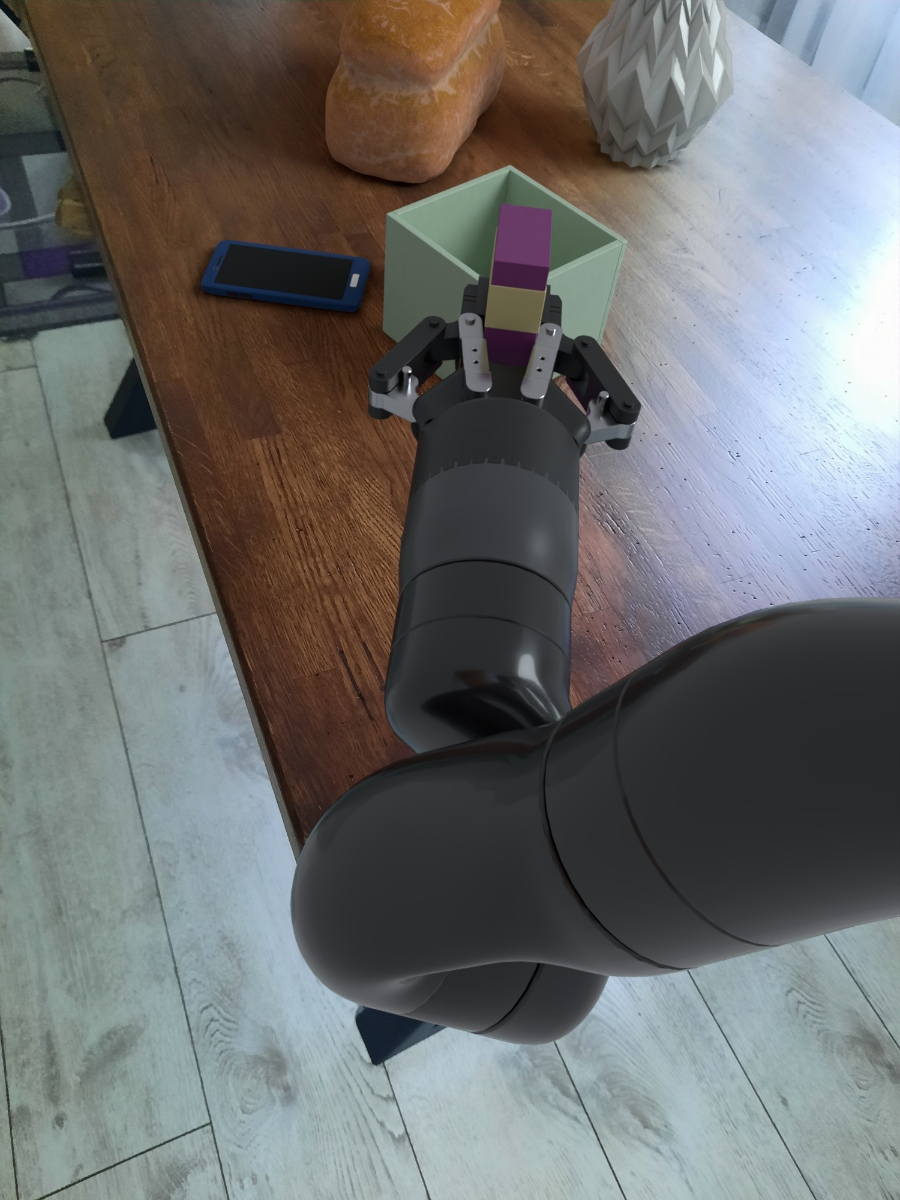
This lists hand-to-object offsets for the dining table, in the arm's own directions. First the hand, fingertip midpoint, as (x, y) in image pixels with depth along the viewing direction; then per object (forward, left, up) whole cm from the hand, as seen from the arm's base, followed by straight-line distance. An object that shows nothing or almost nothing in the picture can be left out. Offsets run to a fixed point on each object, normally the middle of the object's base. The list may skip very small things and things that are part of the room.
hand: (511, 295), depth 50 cm
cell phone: (-7, -32, -20) cm, 38 cm away
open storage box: (-16, -15, -20) cm, 30 cm away
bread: (-35, -47, -20) cm, 62 cm away
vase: (-52, -30, -20) cm, 63 cm away
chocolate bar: (+2, +2, -7) cm, 7 cm away
